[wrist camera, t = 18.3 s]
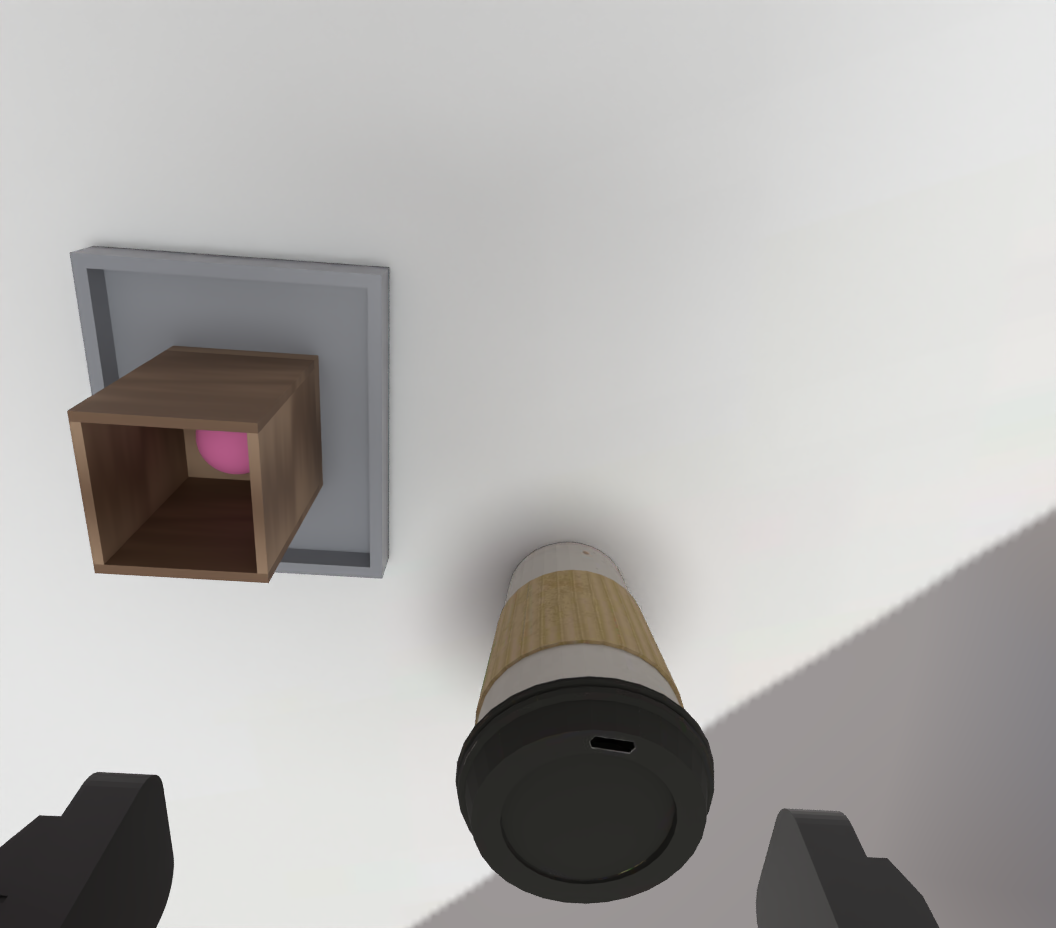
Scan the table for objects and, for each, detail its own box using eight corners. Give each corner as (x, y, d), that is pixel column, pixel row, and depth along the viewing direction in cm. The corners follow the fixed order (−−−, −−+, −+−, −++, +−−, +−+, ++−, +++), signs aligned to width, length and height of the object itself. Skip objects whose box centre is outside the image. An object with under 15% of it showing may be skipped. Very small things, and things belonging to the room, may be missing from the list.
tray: (93, 246, 34) (69, 252, 32) (389, 267, 35) (381, 275, 33) (136, 543, 40) (118, 563, 38) (388, 558, 41) (382, 578, 39)
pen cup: (173, 345, 35) (66, 410, 27) (318, 355, 36) (257, 422, 27) (187, 477, 38) (94, 573, 30) (323, 485, 38) (268, 582, 30)
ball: (204, 389, 35) (183, 407, 32) (281, 391, 36) (268, 409, 33) (208, 460, 36) (188, 484, 33) (284, 461, 37) (271, 485, 34)
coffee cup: (460, 652, 43) (432, 898, 29) (492, 495, 39) (476, 693, 25) (632, 679, 44) (683, 930, 30) (679, 528, 40) (762, 736, 26)
